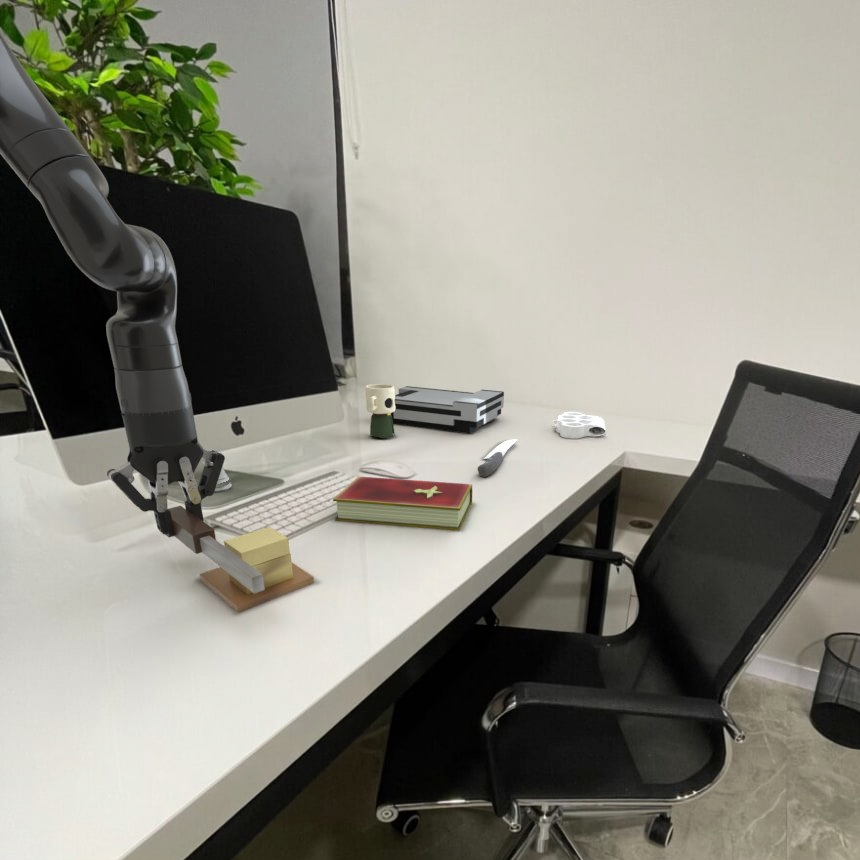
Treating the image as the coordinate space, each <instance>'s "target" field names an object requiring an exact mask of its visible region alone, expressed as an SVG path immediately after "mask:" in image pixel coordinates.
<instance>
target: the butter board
mask: <svg viewBox="0 0 860 860" xmlns="http://www.w3.org/2000/svg"><path fill="white" fill-rule="evenodd" d="M291 556H292V555H291V553H290V554H287V555H284V556H281V557H278V558H275V559H272V560H269V561H266V562H263V563H260V564H257V565H254V566H252V567H253V568H255V569H256V570H257V571H259V572H260V573H261V574H262V575H263V582H264V589H265V590H263V591H260V592H258V593H255V594H254V593H253V592H251V591H250V590H249V589H248V588H246V587H245V586H244V585H243V584H241V583H240V582H239V581H238V580H236V579H235V578H234V577H233V576H231V575H230V574H229V573H228V572H226V571H225V570H224V569H222V568H221V567H220V566H219V567H217V568H214V569H210V570H208V571H207V570H206V571H204V572H201V573H199V579H200V581H201V582H202V583H203V584H204V585H206V586H207V588H209V589H210V590H211V591H212V592H213V593H215V594H216V595H217V596H218V597H219V598H220V599H221V600H222V601H224V602H225V603H226V604H227V605H228V606H229V607H231V608H232V609H233V610H234V611H236V613H242V612H244V611H247V610H249V609H252V608H254V607H257V606H260V605H262V604H264V603H267V602H269V601H272V600H274V599H277V598H279V597H282V596H284V595H287V594H289V593H292V592H296V591H298V590H300V589H302V588H304V587H307V586H310V585H313V584H315V580H314V579H315V578H314V576H313V575H311V574H310V573H308V571H307V572H306V571H305V570H304V569H303V568H301V567H299V566H297V565H296V564H295V563H293V562H292V557H291Z"/></svg>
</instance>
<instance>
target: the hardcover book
mask: <svg viewBox="0 0 860 860" xmlns="http://www.w3.org/2000/svg"><path fill="white" fill-rule="evenodd" d="M332 502H335V503H336V511H337V516H336V517H335V518H334V522H343V523H344V522H345V523H357V524H358V523H359V524H368V525H369V524H370V525H371V524H372V525H381V526H395V527H409V528H421V529H433V530H446V531H458V532H459V531H461V529H462V527H463V525H464V523H465V521H466V518H467V516H468V514H469V512H470V510H471V508H472V506H473V484H472V483H461V482H444V481H429V480H416V479H400V478H389V477H388V478H387V477H373V476H357V477H356V478H355V479H354V480H353V481H351V482H350V483H349V484H348V485H347V486H346V487H345V488H344V489H343V490H342V491H340V492H339V493H338V494H337V495H336V496H334V497H333V499H332Z"/></svg>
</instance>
